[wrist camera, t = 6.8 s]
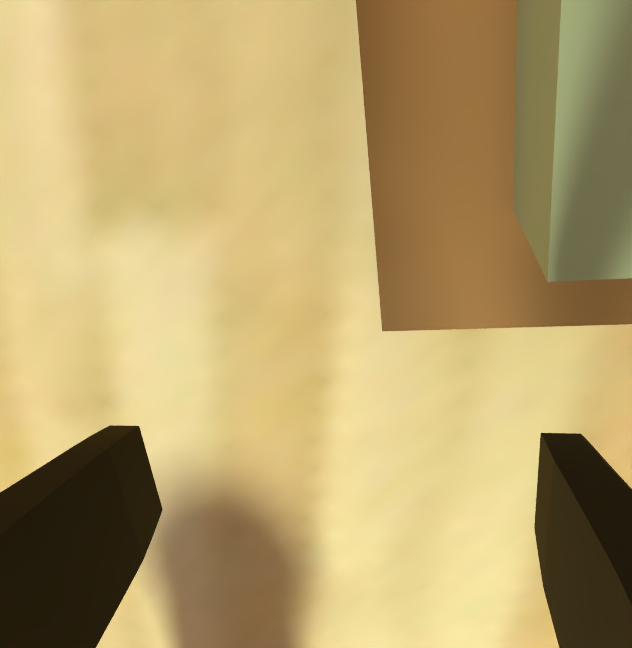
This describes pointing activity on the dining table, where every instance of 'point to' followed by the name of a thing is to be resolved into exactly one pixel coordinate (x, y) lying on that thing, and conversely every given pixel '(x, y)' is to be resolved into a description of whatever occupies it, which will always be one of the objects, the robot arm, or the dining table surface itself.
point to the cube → (575, 136)
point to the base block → (456, 175)
